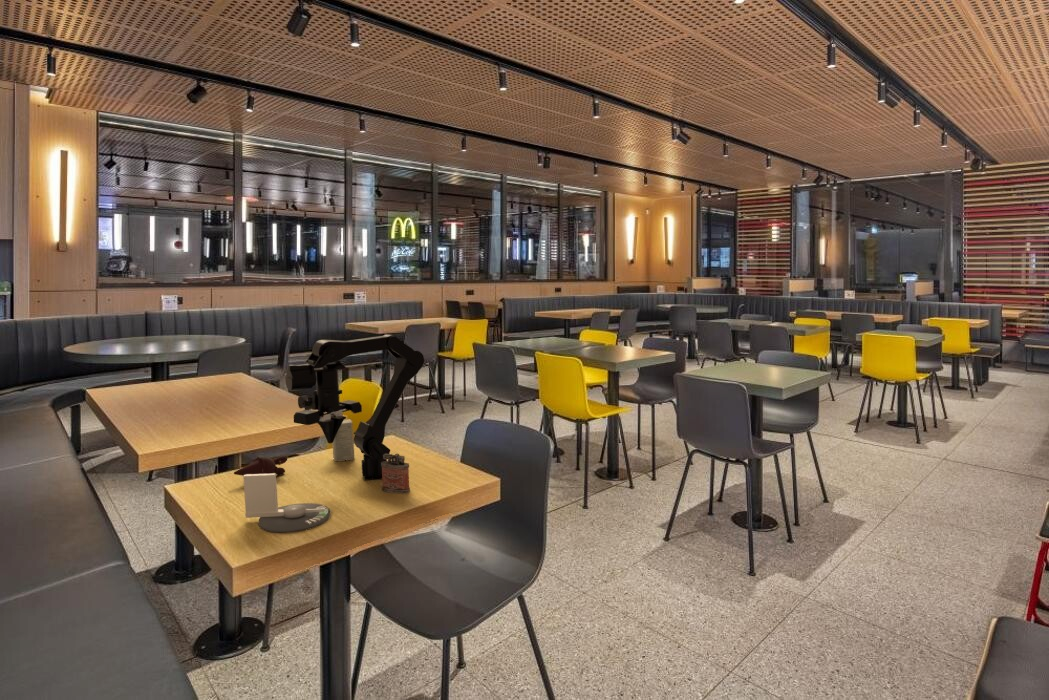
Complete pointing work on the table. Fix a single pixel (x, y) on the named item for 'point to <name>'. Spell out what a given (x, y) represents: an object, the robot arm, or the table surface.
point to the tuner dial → (295, 520)
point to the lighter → (395, 474)
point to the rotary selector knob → (268, 498)
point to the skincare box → (344, 442)
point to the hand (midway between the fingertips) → (330, 443)
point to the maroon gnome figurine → (263, 466)
